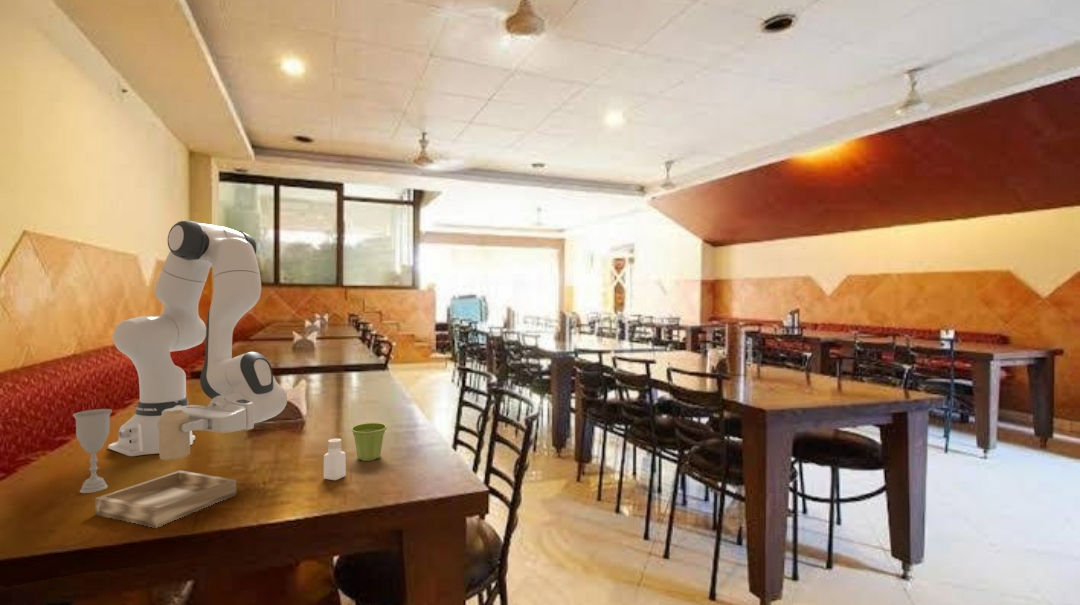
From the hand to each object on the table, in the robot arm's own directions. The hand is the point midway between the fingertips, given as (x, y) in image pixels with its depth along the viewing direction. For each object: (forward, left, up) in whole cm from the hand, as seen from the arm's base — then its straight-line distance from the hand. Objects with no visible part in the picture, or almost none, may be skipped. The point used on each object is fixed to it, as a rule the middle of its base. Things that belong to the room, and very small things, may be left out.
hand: (170, 426), depth 114 cm
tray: (0, 0, -17) cm, 17 cm away
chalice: (-25, 0, -17) cm, 30 cm away
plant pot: (+20, +42, -17) cm, 49 cm away
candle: (0, +1, -7) cm, 7 cm away
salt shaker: (+22, +26, -17) cm, 38 cm away
